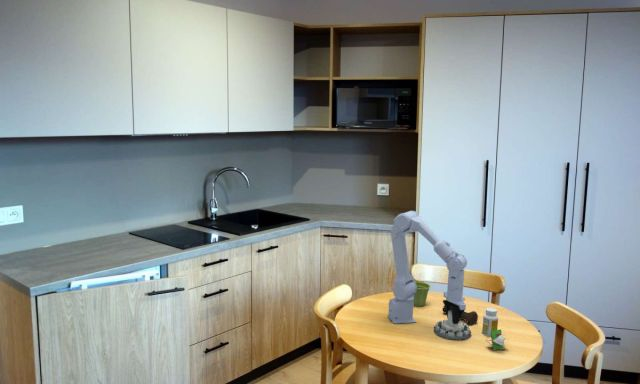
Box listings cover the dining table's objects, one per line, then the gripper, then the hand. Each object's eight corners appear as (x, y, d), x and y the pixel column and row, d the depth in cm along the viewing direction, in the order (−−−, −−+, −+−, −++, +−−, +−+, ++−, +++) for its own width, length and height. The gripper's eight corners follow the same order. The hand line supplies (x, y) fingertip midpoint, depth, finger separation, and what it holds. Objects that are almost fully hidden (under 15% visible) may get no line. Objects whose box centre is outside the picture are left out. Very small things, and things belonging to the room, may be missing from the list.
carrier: (442, 341, 194) (443, 335, 194) (427, 326, 208) (428, 320, 208) (477, 339, 197) (478, 332, 197) (460, 324, 211) (460, 318, 211)
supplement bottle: (496, 332, 204) (498, 308, 203) (496, 337, 199) (498, 313, 198) (482, 330, 206) (484, 306, 205) (481, 335, 201) (483, 310, 200)
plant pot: (431, 302, 235) (432, 283, 234) (426, 309, 226) (427, 289, 225) (410, 299, 239) (411, 280, 237) (405, 305, 230) (406, 286, 229)
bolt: (445, 316, 224) (474, 327, 212) (438, 313, 221) (468, 324, 209) (450, 304, 225) (479, 314, 213) (443, 300, 222) (473, 310, 210)
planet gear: (447, 332, 198) (448, 316, 197) (437, 323, 206) (438, 308, 205) (467, 331, 199) (468, 315, 198) (457, 322, 207) (458, 307, 206)
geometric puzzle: (480, 337, 194) (489, 325, 188) (495, 335, 196) (505, 324, 190) (488, 355, 189) (498, 344, 184) (504, 353, 191) (515, 342, 186)
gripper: (474, 292, 194) (471, 328, 196) (456, 280, 208) (454, 313, 210) (456, 293, 192) (454, 329, 194) (439, 281, 206) (437, 314, 208)
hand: (452, 321), depth 202 cm, fingers closed on planet gear, 4 cm apart
